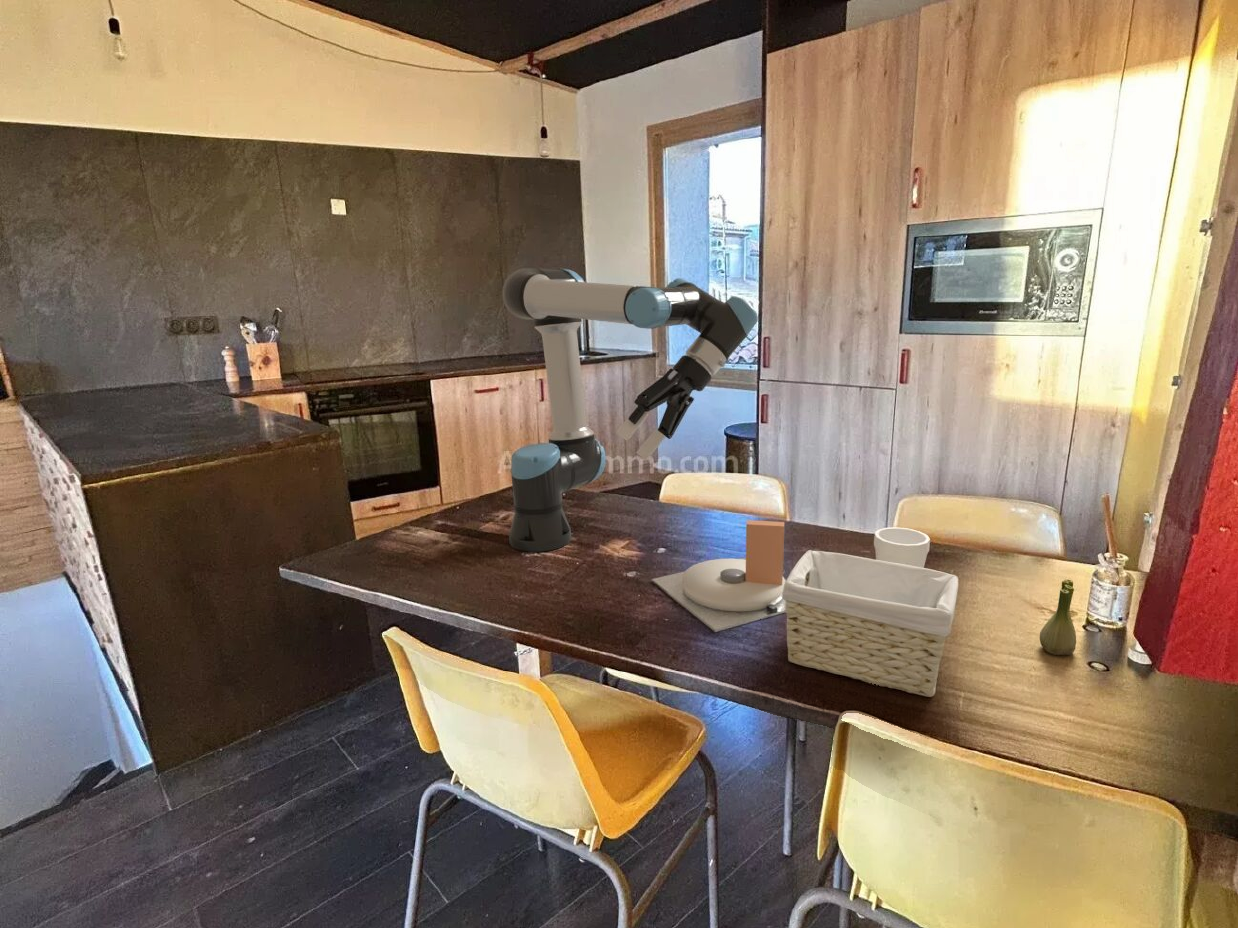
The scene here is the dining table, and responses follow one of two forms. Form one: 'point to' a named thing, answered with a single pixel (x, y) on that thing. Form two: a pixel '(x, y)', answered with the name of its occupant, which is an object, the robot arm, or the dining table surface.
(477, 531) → the dining table surface
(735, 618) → the base plate
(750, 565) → the dial
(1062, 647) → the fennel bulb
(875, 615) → the storage basket
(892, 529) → the foam cup
